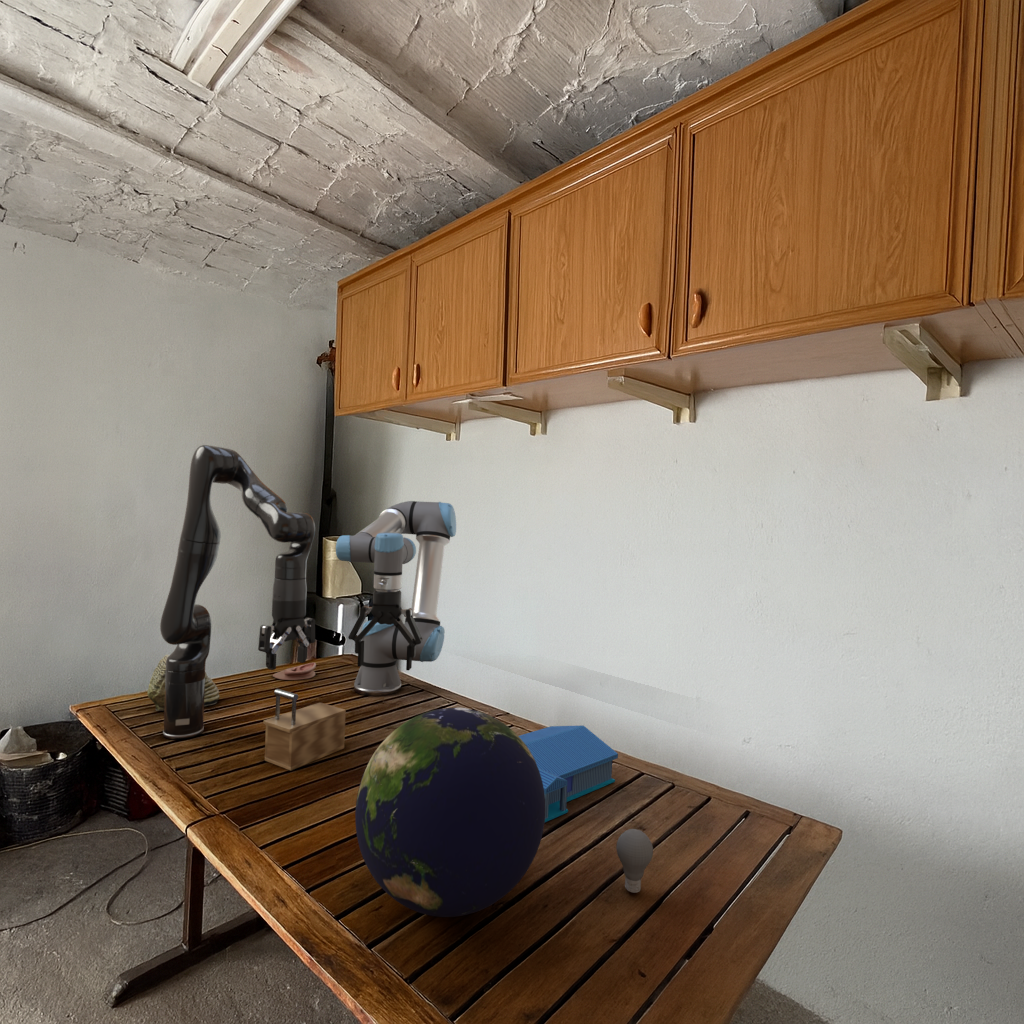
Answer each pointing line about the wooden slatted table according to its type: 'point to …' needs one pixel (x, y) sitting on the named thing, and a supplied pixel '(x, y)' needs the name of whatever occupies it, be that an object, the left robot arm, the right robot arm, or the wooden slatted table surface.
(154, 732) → the wooden slatted table surface
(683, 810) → the wooden slatted table surface
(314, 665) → the anatomical model
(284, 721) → the lid
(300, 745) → the chest
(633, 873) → the light bulb
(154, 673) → the fossil
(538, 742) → the model building
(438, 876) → the globe
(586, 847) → the wooden slatted table surface
